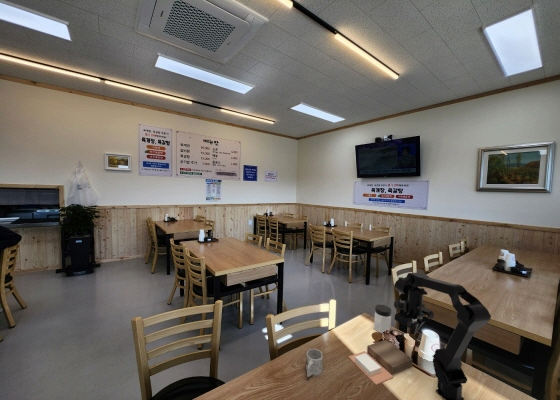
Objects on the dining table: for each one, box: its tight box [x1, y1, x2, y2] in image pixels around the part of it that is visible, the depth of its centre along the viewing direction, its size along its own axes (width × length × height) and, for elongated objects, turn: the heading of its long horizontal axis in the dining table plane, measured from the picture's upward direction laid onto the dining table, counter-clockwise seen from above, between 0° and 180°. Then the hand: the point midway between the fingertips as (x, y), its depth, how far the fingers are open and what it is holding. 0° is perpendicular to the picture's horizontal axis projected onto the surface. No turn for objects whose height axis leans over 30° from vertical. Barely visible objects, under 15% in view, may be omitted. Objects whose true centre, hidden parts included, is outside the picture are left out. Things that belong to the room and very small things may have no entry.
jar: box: [373, 304, 392, 334], centre depth 126 cm, size 9×8×12 cm
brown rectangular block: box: [366, 339, 413, 376], centre depth 103 cm, size 14×12×4 cm
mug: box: [305, 348, 323, 378], centre depth 95 cm, size 10×7×7 cm, turn 149°
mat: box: [348, 350, 394, 386], centre depth 98 cm, size 16×10×1 cm, turn 24°
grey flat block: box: [355, 352, 381, 376], centre depth 98 cm, size 9×6×2 cm, turn 23°
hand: (413, 334), depth 103 cm, fingers closed
